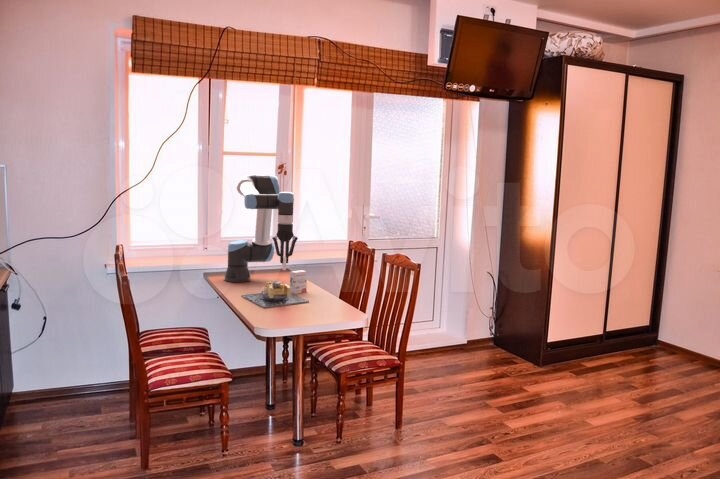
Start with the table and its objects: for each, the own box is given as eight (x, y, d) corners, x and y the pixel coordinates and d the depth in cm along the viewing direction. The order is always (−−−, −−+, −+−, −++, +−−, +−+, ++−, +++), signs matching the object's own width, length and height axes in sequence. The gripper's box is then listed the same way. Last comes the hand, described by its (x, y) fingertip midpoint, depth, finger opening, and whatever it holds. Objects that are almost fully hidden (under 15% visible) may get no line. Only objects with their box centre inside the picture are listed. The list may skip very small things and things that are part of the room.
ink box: (301, 290, 330) (301, 269, 328) (306, 292, 326) (307, 271, 325) (288, 292, 324) (289, 271, 322) (294, 294, 320) (295, 272, 319)
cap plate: (241, 296, 309) (241, 279, 308) (284, 291, 325) (285, 275, 323) (263, 308, 289) (264, 290, 287) (309, 302, 304) (309, 285, 303)
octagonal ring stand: (262, 289, 309) (262, 280, 309) (283, 288, 313) (283, 279, 312) (269, 298, 292) (269, 288, 291) (291, 297, 296) (291, 287, 295)
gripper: (273, 224, 286) (272, 271, 290) (299, 224, 290) (298, 270, 294) (271, 222, 293) (269, 268, 297) (296, 222, 297) (295, 267, 301)
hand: (284, 269), depth 295 cm, fingers closed
